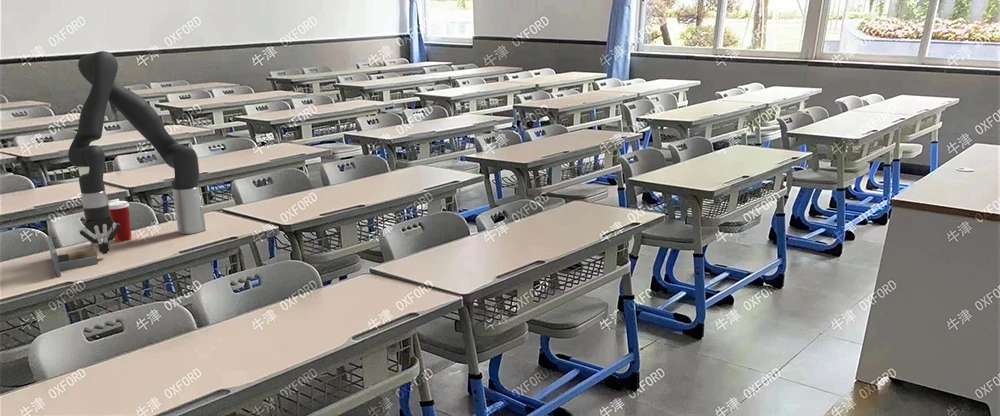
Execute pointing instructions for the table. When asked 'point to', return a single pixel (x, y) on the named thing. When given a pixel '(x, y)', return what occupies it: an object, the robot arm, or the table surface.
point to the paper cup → (121, 219)
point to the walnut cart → (82, 253)
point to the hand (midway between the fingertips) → (104, 253)
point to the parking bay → (63, 262)
